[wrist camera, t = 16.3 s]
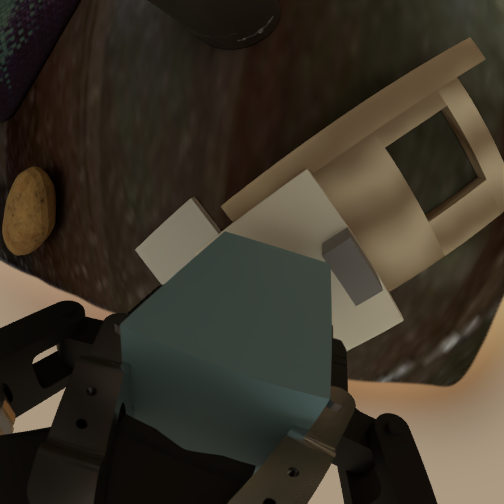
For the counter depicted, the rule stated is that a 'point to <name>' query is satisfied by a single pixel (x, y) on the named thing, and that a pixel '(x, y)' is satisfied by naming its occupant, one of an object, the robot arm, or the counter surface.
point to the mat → (177, 240)
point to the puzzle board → (397, 170)
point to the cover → (324, 255)
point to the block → (233, 349)
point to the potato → (29, 211)
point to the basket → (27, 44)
